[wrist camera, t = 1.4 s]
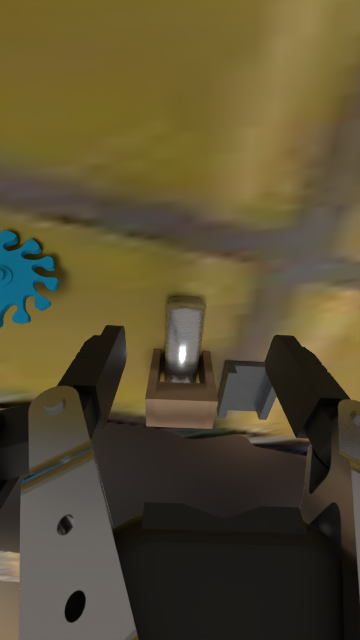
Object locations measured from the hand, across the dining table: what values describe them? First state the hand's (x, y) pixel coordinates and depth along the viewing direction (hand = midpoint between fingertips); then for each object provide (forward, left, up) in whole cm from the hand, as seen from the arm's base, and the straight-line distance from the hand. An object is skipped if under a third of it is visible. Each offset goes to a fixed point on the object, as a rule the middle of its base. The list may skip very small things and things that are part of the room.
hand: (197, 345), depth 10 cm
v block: (+20, +10, -16) cm, 27 cm away
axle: (+14, 0, -16) cm, 21 cm away
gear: (+2, -19, -16) cm, 25 cm away
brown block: (+16, 0, -16) cm, 22 cm away
